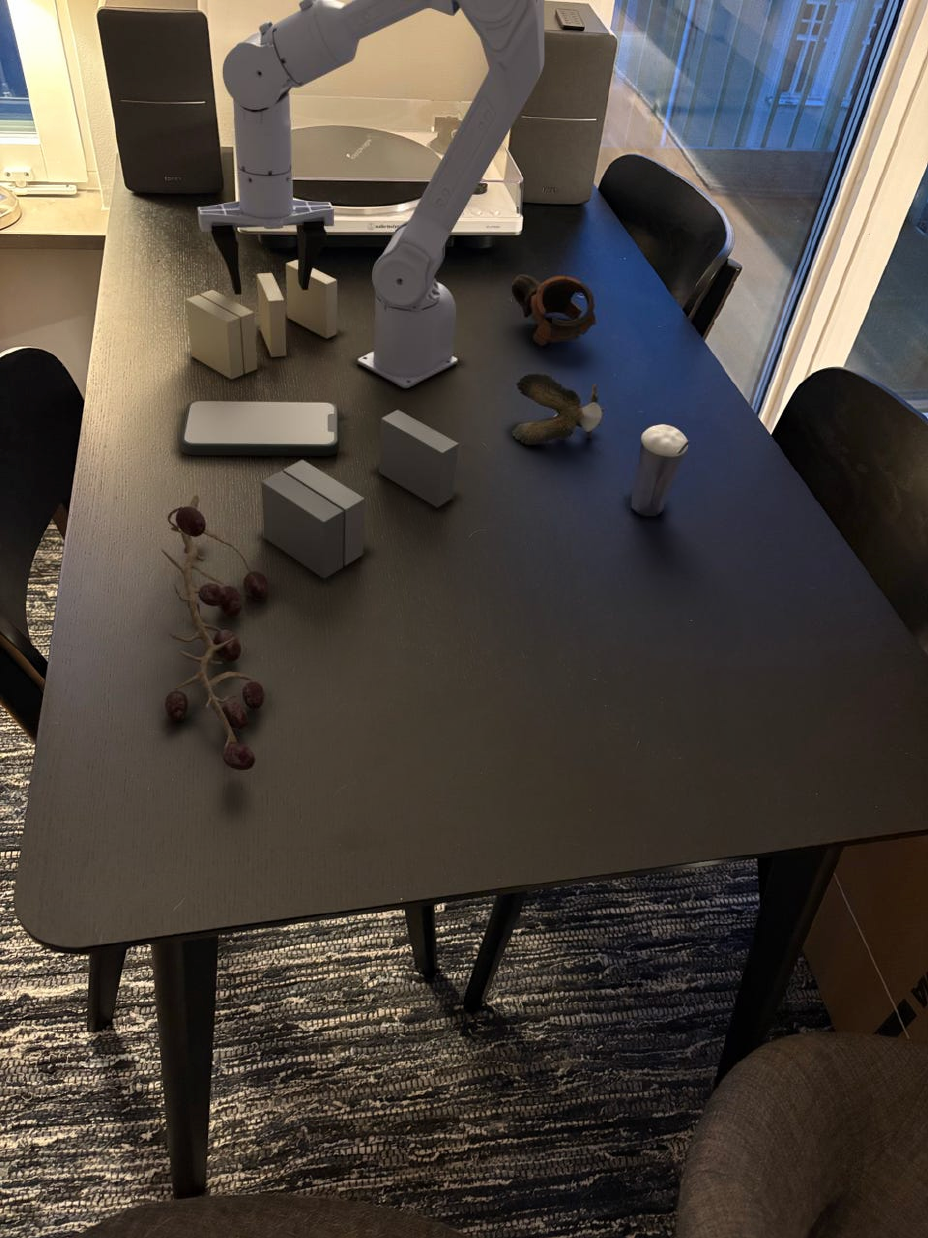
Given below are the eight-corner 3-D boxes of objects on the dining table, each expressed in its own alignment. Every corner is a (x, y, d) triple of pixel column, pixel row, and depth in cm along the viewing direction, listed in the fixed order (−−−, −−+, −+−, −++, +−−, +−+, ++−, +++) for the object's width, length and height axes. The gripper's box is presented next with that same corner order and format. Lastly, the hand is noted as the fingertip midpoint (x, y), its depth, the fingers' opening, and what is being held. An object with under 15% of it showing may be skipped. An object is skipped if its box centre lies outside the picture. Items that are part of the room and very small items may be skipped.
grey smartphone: (180, 459, 98) (339, 459, 100) (178, 445, 97) (338, 446, 99) (189, 411, 105) (338, 413, 107) (187, 398, 103) (338, 400, 105)
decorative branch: (259, 732, 65) (139, 426, 79) (192, 804, 70) (90, 502, 84) (379, 732, 74) (252, 456, 88) (312, 796, 78) (201, 523, 92)
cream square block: (274, 327, 119) (271, 272, 114) (286, 355, 114) (284, 299, 110) (259, 328, 118) (256, 273, 114) (271, 357, 114) (268, 300, 109)
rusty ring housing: (599, 327, 128) (614, 290, 120) (564, 380, 126) (577, 346, 118) (522, 281, 129) (532, 241, 121) (485, 332, 126) (493, 296, 118)
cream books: (298, 313, 122) (296, 259, 117) (337, 334, 119) (337, 279, 114) (191, 355, 112) (185, 298, 108) (231, 379, 109) (226, 322, 105)
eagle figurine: (581, 399, 111) (508, 387, 108) (610, 371, 105) (533, 357, 102) (582, 462, 109) (508, 451, 107) (612, 437, 103) (534, 425, 100)
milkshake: (645, 529, 97) (669, 445, 90) (615, 499, 100) (636, 415, 93) (681, 519, 98) (708, 436, 92) (651, 490, 102) (674, 407, 95)
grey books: (394, 463, 101) (397, 409, 96) (452, 497, 97) (458, 443, 93) (264, 538, 90) (260, 481, 86) (324, 579, 87) (323, 522, 82)
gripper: (200, 182, 97) (212, 308, 107) (341, 177, 102) (340, 299, 111) (190, 156, 102) (202, 280, 112) (325, 153, 107) (325, 272, 116)
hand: (270, 288), depth 112 cm, fingers open, 7 cm apart
